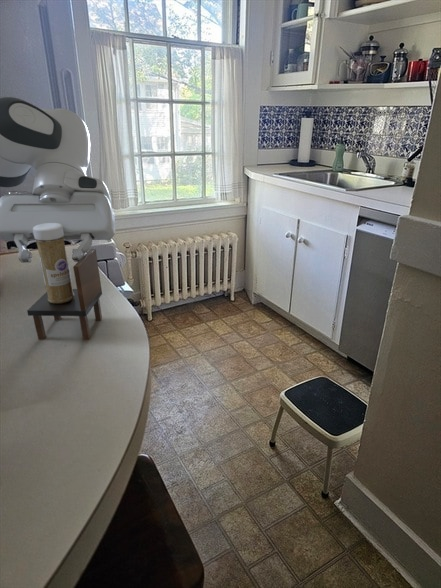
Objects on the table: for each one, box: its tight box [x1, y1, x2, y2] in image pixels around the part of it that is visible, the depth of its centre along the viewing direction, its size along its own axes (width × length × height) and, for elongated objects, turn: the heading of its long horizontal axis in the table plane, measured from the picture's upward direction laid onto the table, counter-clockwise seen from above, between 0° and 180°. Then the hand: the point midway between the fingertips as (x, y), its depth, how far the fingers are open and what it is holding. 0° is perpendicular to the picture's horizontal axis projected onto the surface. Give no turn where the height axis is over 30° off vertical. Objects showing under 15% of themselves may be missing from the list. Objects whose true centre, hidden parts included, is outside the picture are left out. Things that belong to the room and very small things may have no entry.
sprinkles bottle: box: [33, 223, 74, 304], centre depth 67 cm, size 5×5×13 cm
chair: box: [26, 248, 103, 341], centre depth 70 cm, size 10×9×14 cm
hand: (51, 260), depth 66 cm, fingers open, 7 cm apart
